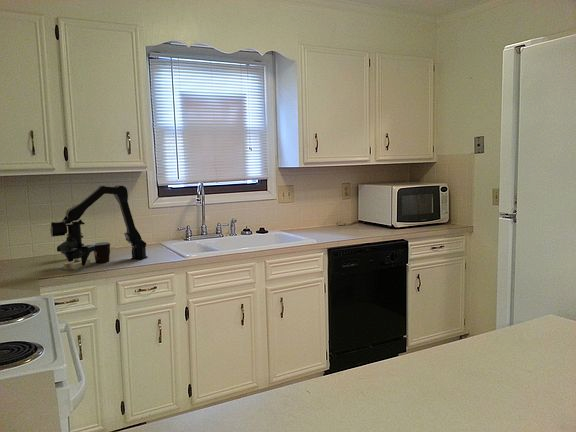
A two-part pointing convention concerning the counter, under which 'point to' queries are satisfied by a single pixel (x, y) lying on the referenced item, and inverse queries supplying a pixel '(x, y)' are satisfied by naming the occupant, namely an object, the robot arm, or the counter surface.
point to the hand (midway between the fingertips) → (77, 265)
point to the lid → (76, 264)
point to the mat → (77, 269)
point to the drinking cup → (76, 252)
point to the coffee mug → (102, 252)
